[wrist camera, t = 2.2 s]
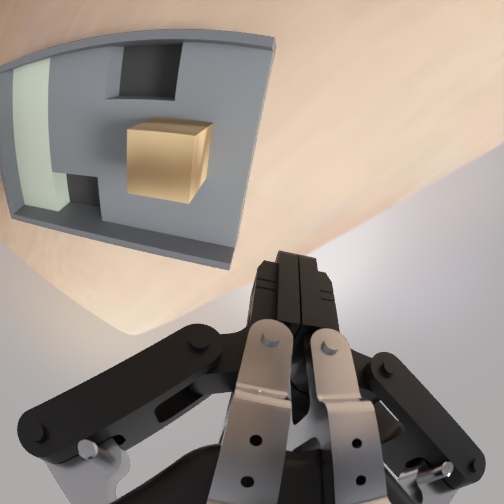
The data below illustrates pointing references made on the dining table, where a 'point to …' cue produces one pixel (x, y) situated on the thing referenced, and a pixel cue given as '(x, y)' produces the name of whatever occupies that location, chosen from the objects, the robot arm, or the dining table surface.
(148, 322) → the dining table surface
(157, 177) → the oak block
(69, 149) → the box
